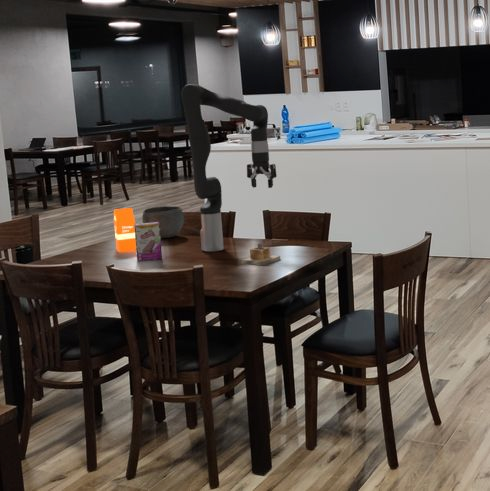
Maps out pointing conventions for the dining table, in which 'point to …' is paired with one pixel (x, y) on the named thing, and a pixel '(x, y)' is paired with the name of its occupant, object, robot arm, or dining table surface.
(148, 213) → the bowl
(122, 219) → the orange juice
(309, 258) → the dining table surface
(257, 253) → the small wooden box
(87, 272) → the dining table surface
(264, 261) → the wooden peg stand
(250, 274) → the dining table surface
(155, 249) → the candy bar box
